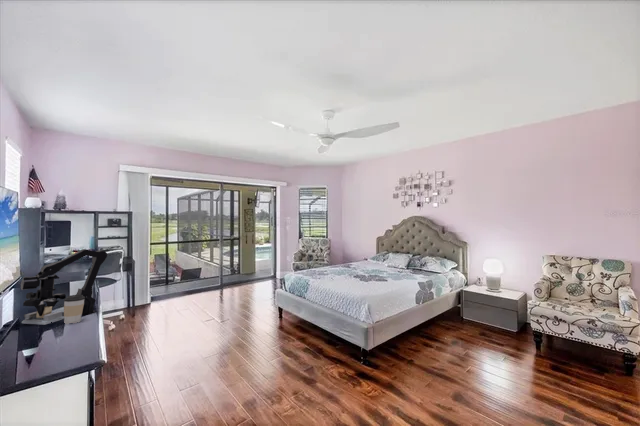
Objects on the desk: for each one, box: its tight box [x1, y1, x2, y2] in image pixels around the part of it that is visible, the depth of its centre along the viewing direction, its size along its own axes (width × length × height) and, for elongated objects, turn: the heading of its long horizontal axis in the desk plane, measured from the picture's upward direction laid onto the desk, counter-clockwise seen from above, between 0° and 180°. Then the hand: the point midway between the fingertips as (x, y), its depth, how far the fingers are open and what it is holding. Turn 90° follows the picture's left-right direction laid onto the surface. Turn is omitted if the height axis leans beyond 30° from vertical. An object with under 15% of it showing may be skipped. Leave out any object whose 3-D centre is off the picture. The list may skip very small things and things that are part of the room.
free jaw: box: [23, 311, 37, 320], centre depth 158 cm, size 4×8×3 cm, turn 177°
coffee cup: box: [63, 294, 85, 325], centre depth 157 cm, size 9×9×15 cm
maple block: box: [36, 305, 53, 318], centre depth 158 cm, size 5×4×6 cm
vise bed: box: [21, 310, 64, 326], centre depth 157 cm, size 14×11×4 cm
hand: (44, 314), depth 157 cm, fingers closed on maple block, 3 cm apart
